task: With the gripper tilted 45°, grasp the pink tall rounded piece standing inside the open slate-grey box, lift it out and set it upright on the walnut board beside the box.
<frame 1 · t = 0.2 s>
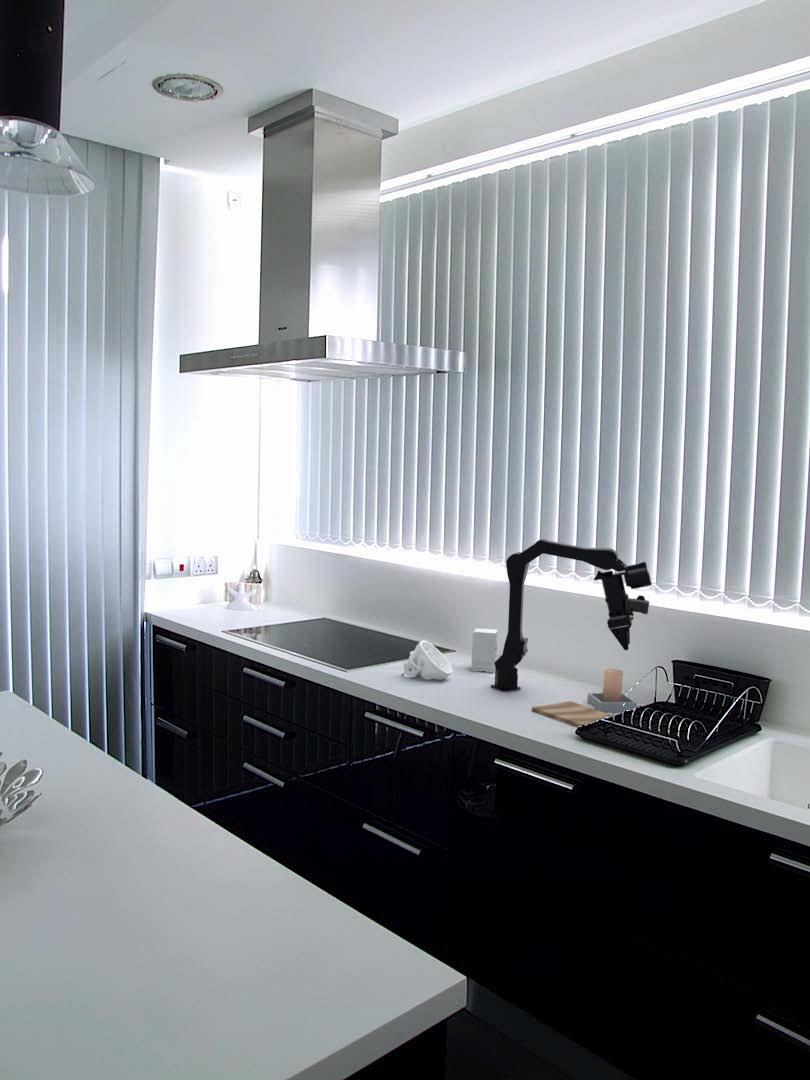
hand: (627, 646, 258), 15 cm above the counter, tool tilted 15°, fingers open, 9 cm apart
walnut board: (574, 715, 242), on the counter
supplement box: (483, 670, 292), on the counter
pink tall rounded piece: (612, 688, 252), in the grey box
grey box: (611, 706, 252), on the counter
skull bowl: (426, 678, 278), on the counter
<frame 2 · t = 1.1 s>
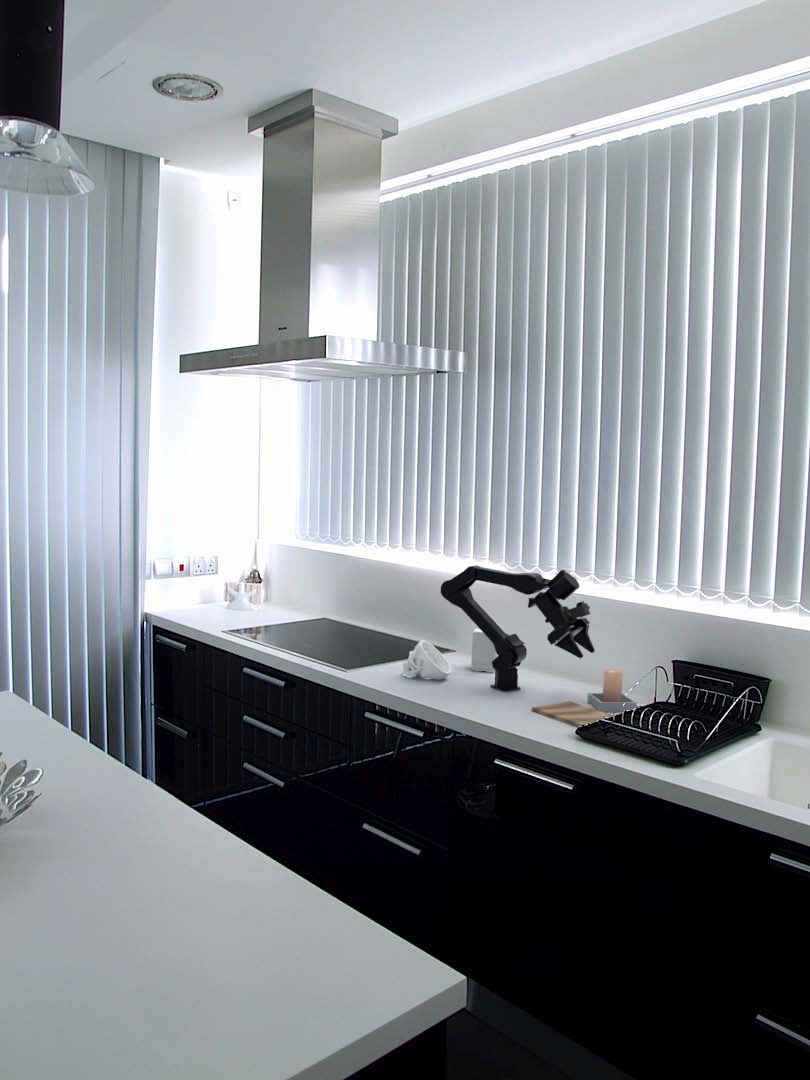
hand: (587, 654, 255), 13 cm above the counter, tool tilted 45°, fingers open, 9 cm apart
nothing on the counter moved.
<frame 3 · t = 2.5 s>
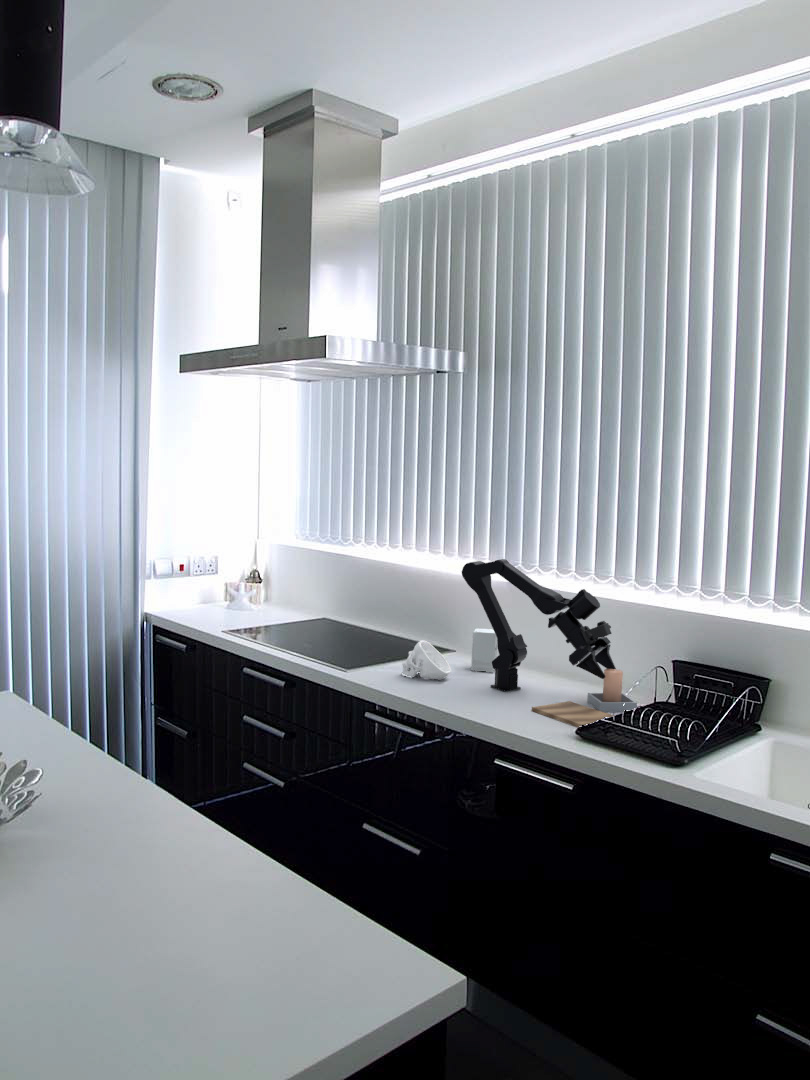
hand: (609, 675, 252), 9 cm above the counter, tool tilted 45°, fingers open, 9 cm apart
nothing on the counter moved.
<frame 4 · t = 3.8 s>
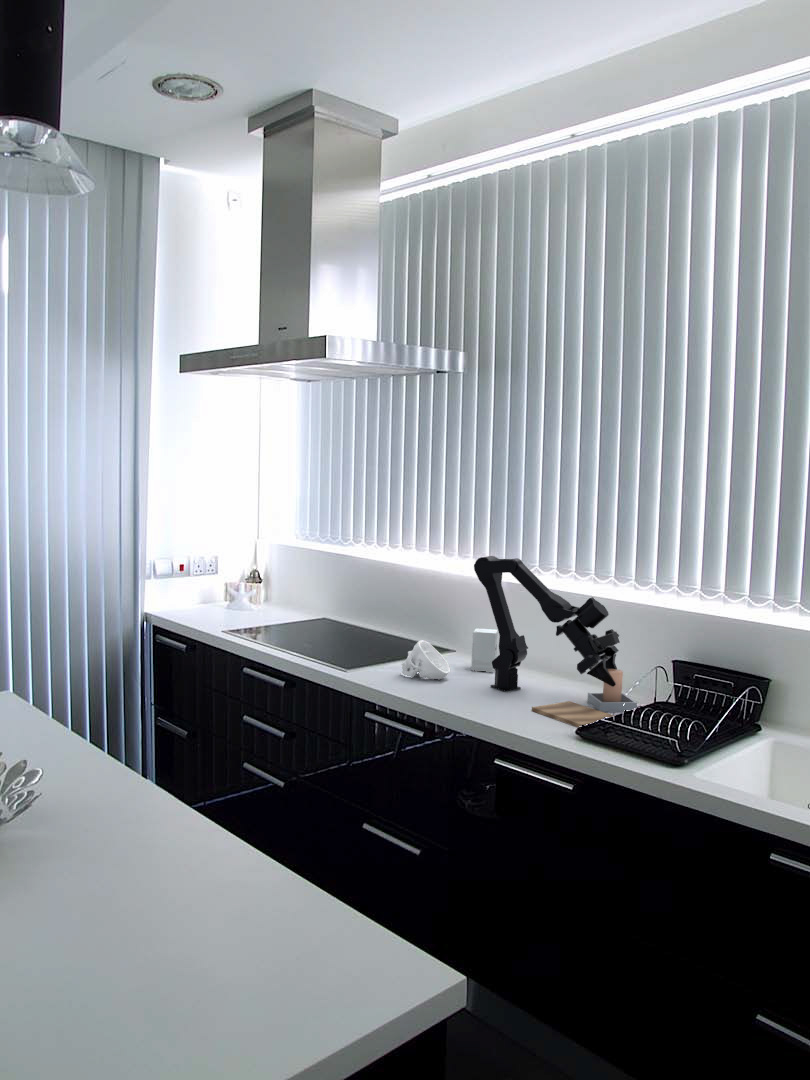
hand: (617, 683, 251), 7 cm above the counter, tool tilted 45°, fingers closed on pink tall rounded piece, 5 cm apart
pink tall rounded piece: (612, 688, 252), in the grey box, touching gripper
everything else where it was.
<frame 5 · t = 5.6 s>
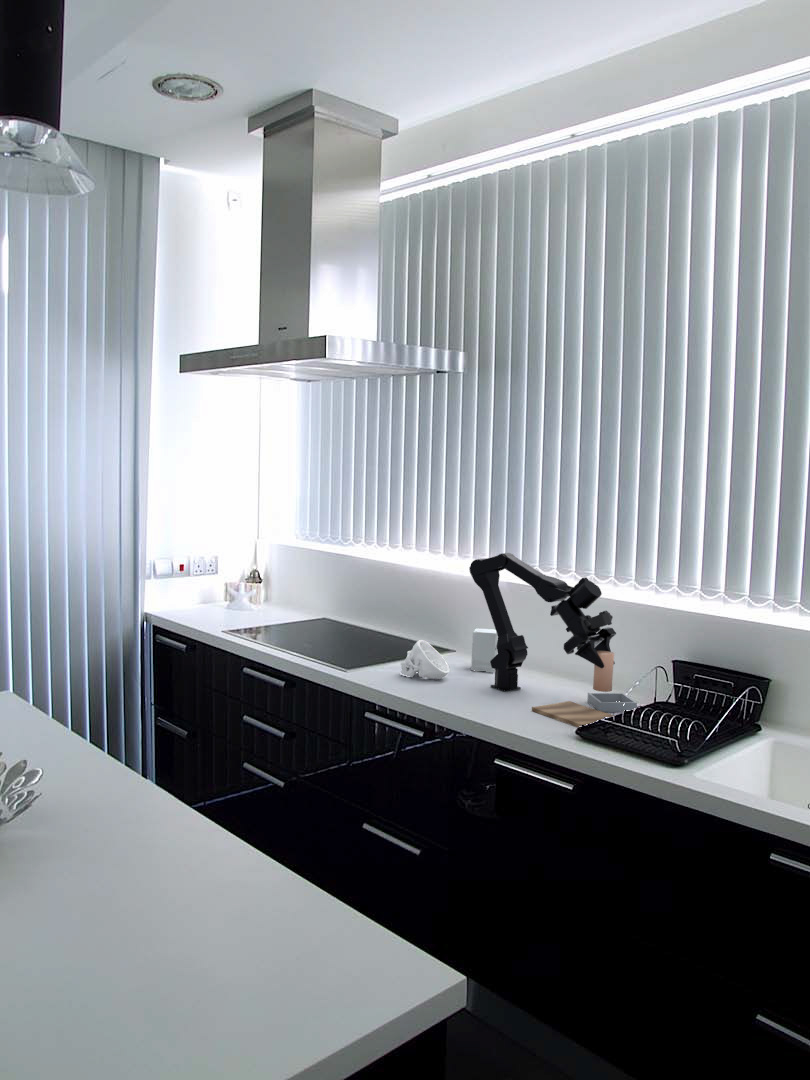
hand: (608, 666, 246), 12 cm above the counter, tool tilted 45°, fingers closed on pink tall rounded piece, 5 cm apart
pink tall rounded piece: (603, 671, 247), point 11 cm above the counter, touching gripper
everything else where it was.
when the fingers open (9 cm above the counter, at t = 7.5 s): pink tall rounded piece drops 1 cm, resting on walnut board.
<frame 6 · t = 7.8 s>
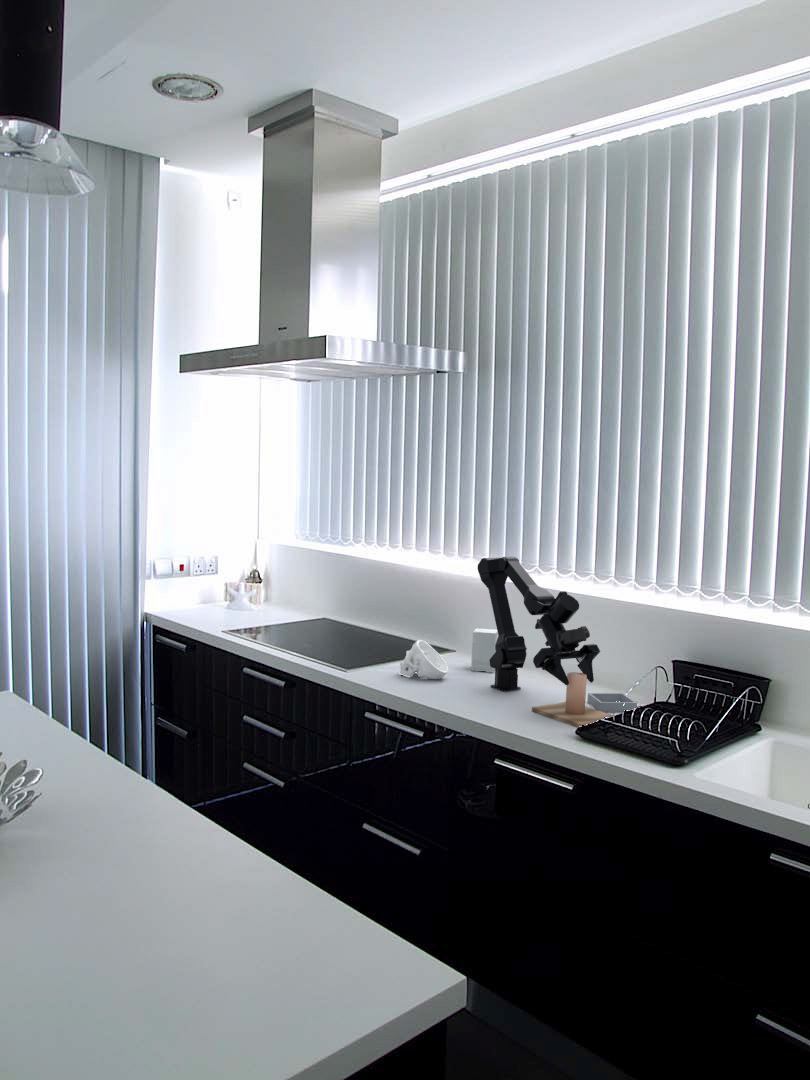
hand: (580, 683, 240), 9 cm above the counter, tool tilted 45°, fingers open, 8 cm apart
pink tall rounded piece: (575, 693, 241), on the walnut board, point 6 cm above the counter
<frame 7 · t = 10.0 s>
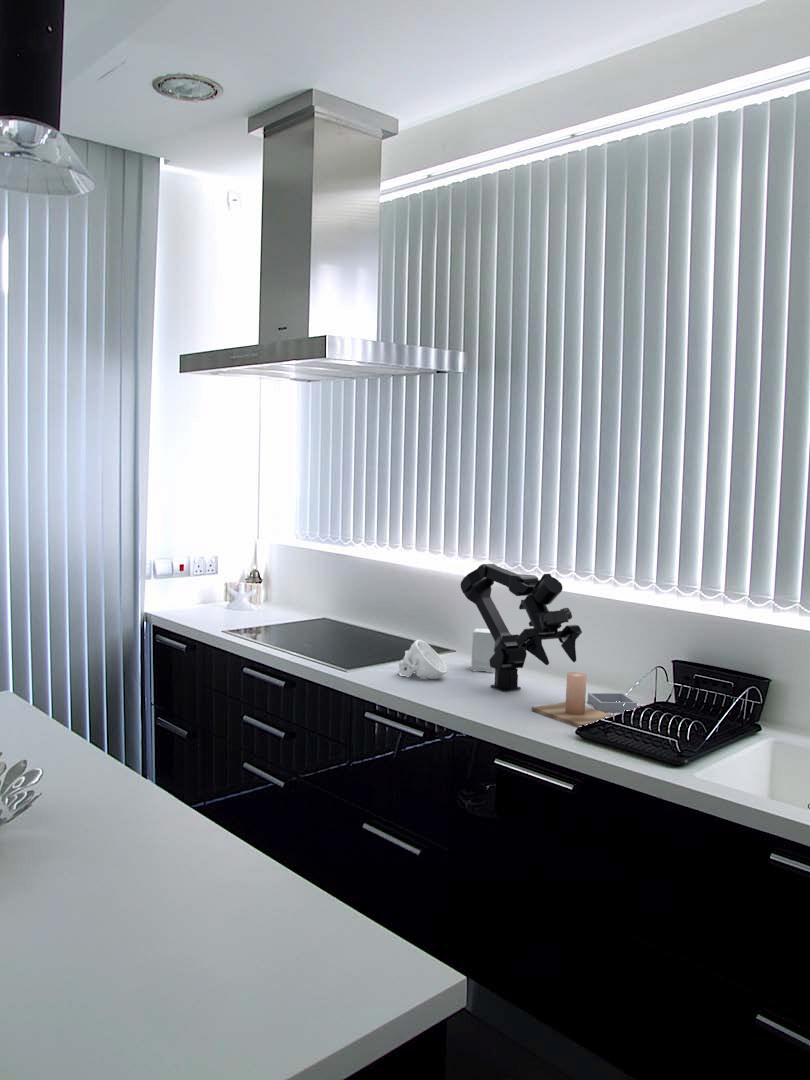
hand: (561, 662, 247), 13 cm above the counter, tool tilted 45°, fingers open, 9 cm apart
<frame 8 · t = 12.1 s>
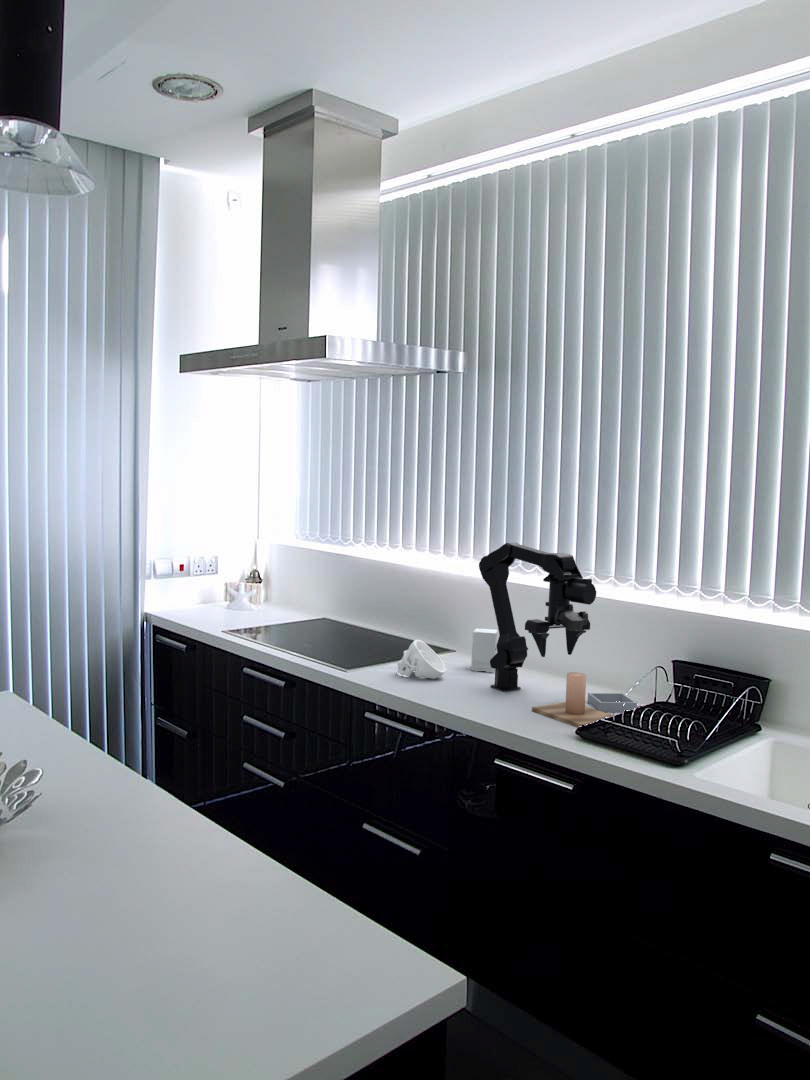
hand: (556, 655, 254), 13 cm above the counter, tool pointing down, fingers open, 9 cm apart
at the end: pink tall rounded piece inside the target area on the walnut board (0.0 cm from its centre), point 6.0 cm above the walnut board's base; pink tall rounded piece tilted 1°; the gripper is holding nothing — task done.
